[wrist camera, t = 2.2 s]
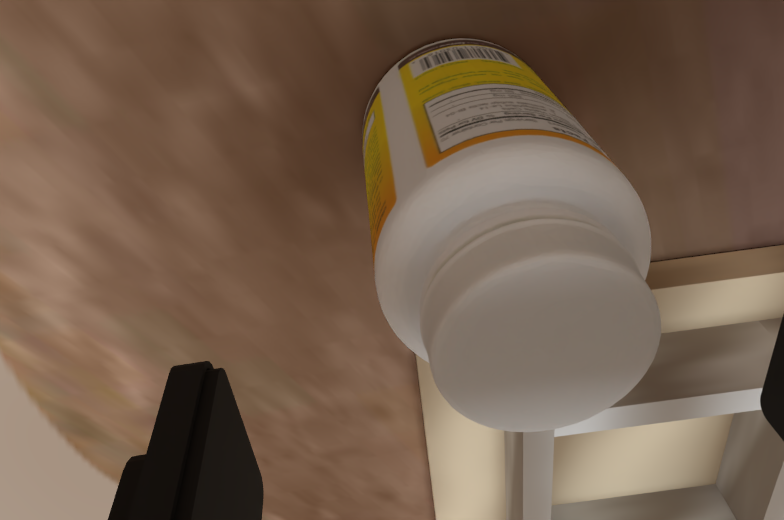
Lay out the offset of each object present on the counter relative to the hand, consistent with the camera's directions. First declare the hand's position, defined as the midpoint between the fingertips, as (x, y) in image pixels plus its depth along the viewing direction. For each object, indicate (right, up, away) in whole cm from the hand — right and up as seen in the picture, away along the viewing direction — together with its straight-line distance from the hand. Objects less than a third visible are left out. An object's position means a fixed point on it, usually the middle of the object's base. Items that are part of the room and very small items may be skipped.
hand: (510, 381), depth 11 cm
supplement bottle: (0, +6, +9) cm, 11 cm away
